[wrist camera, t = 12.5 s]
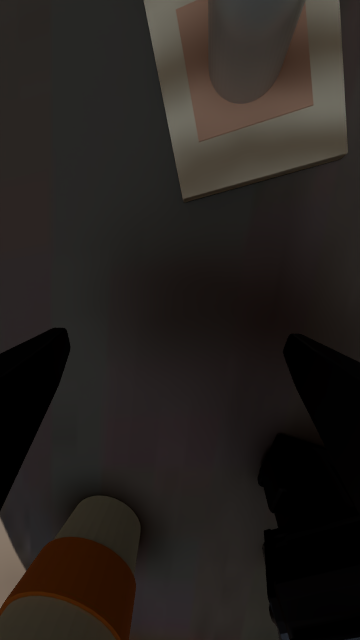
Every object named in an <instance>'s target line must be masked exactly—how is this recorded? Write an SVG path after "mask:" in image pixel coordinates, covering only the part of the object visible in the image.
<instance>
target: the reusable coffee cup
mask: <svg viewBox="0 0 360 640" xmlns="http://www.w3.org/2000/svg"><path fill="white" fill-rule="evenodd" d="M140 532H141V526H140V522H139V519H138V517H137V516H136V514H135V513H134V512H133V511H132V509H131V508H130V507H128V506H127V505H126V504H124V503H123V502H121V501H119V500H117V499H115V498H112V497H108V496H99V495H98V496H91V497H88V498H86V499H84V500H82V501H81V502H80V503H79V504H78V505H77V507H76V508H75V510H74V511H73V513H72V514H71V515H70V517H69V518H68V520H67V521H66V523H65V524H64V525H63V527H62V528H61V530H60V531H59V533H58V534H57V535H56V537H55V538H54V540H53V541H51V542H49V543H48V544H47V545H46V546H44V547H43V549H42V550H41V552H40V553H39V554H38V556H37V557H36V558H35V560H34V561H33V563H32V564H31V565H30V567H29V568H28V570H27V571H26V572H25V574H24V575H23V577H22V578H21V580H20V581H19V582H18V584H17V585H16V586H15V588H14V589H13V591H12V592H11V594H10V595H9V596H8V598H7V599H6V600H5V602H4V603H3V605H2V607H1V608H0V640H129V634H130V627H131V620H132V613H133V606H134V598H135V591H136V583H135V578H134V572H135V566H136V559H137V552H138V546H139V539H140Z"/></svg>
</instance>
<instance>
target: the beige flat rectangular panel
mask: <svg viewBox="0 0 360 640" xmlns="http://www.w3.org/2000/svg"><path fill="white" fill-rule="evenodd" d="M144 4H145V9H146V15H147V20H148V25H149V30H150V35H151V40H152V45H153V50H154V55H155V60H156V65H157V70H158V75H159V80H160V86H161V91H162V96H163V101H164V106H165V111H166V116H167V121H168V126H169V131H170V136H171V141H172V146H173V151H174V157H175V162H176V167H177V172H178V177H179V182H180V187H181V192H182V197H183V201H184V202H188V201H192V200H195V199H199V198H203V197H206V196H210V195H213V194H217V193H221V192H224V191H228V190H231V189H235V188H239V187H242V186H246V185H249V184H253V183H257V182H260V181H264V180H267V179H271V178H275V177H278V176H282V175H285V174H289V173H293V172H296V171H300V170H303V169H307V168H311V167H314V166H318V165H321V164H325V163H329V162H332V161H336V160H339V159H341V158H342V157H343V156H345V155H346V154H347V153H348V146H347V128H346V110H345V92H344V75H343V57H342V39H341V21H340V3H339V0H306V1H305V4H304V6H303V9H302V12H301V15H300V17H299V20H298V23H297V26H296V29H295V31H294V34H293V37H292V40H291V42H290V45H289V48H288V51H287V54H286V56H285V59H284V62H283V65H282V67H281V70H280V73H279V75H278V77H277V79H276V81H275V82H274V84H273V85H272V87H271V88H270V89H269V90H268V91H267V92H266V93H265V94H264V95H263V96H261V97H260V98H258V99H256V100H254V101H252V102H249V103H244V104H236V103H232V102H229V101H227V100H225V99H224V98H222V97H221V96H220V95H219V94H218V93H217V92H216V90H215V89H214V87H213V85H212V82H211V80H210V76H209V68H208V0H144Z"/></svg>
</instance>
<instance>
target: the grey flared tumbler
mask: <svg viewBox="0 0 360 640" xmlns="http://www.w3.org/2000/svg"><path fill="white" fill-rule="evenodd" d="M305 1H306V0H208V68H209V76H210V80H211V82H212V85H213V87H214V89H215V90H216V92H217V93H218V94H219V95H220V96H221V97H222V98H224V99H225V100H227V101H229V102H232V103H236V104H244V103H249V102H252V101H254V100H256V99H258V98H260V97H261V96H263V95H264V94H265V93H266V92H267V91H268V90H269V89H270V88H271V87H272V85H273V84H274V82H275V81H276V79H277V77H278V75H279V73H280V70H281V67H282V65H283V62H284V59H285V56H286V54H287V51H288V48H289V45H290V42H291V40H292V37H293V34H294V31H295V29H296V26H297V23H298V20H299V17H300V15H301V12H302V9H303V6H304V4H305Z"/></svg>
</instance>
